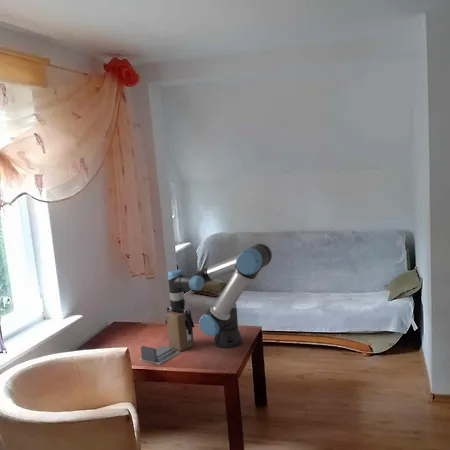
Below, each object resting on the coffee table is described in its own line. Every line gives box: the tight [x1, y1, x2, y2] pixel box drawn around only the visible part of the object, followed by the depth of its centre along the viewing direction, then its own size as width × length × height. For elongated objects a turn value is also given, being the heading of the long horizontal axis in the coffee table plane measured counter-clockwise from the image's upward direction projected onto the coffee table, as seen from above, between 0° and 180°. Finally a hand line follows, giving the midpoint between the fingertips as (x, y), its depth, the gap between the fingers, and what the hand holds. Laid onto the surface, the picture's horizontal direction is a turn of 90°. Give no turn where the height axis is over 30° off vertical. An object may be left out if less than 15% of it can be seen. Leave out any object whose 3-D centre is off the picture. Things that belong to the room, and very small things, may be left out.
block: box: [165, 310, 195, 352], centre depth 292 cm, size 10×10×20 cm
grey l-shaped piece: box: [138, 345, 181, 365], centre depth 283 cm, size 14×17×8 cm
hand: (180, 338), depth 293 cm, fingers closed on block, 11 cm apart
